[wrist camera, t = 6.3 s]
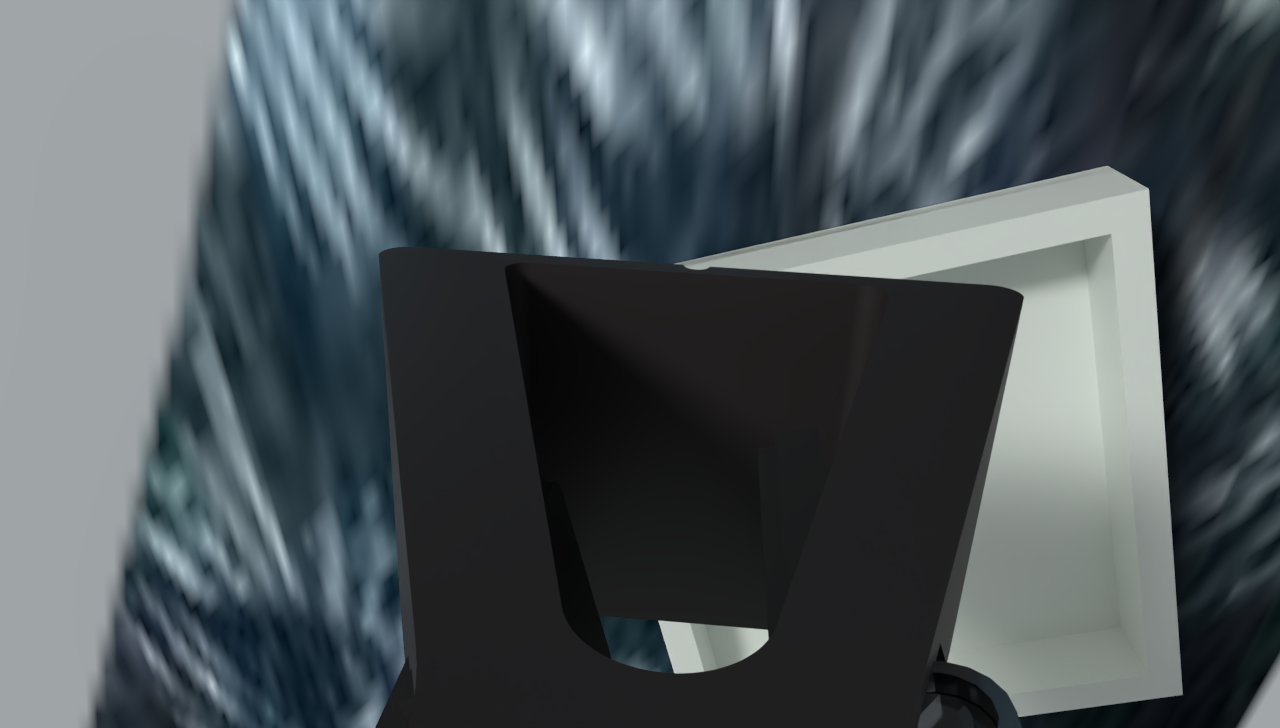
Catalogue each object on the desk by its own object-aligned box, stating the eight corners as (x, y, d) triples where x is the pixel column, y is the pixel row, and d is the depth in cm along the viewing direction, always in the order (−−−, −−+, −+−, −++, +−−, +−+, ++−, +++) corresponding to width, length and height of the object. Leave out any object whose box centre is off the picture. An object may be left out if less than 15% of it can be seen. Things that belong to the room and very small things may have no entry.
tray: (1107, 165, 28) (1149, 188, 25) (1146, 635, 34) (1182, 694, 31) (580, 285, 31) (565, 317, 28) (703, 699, 37) (700, 759, 34)
